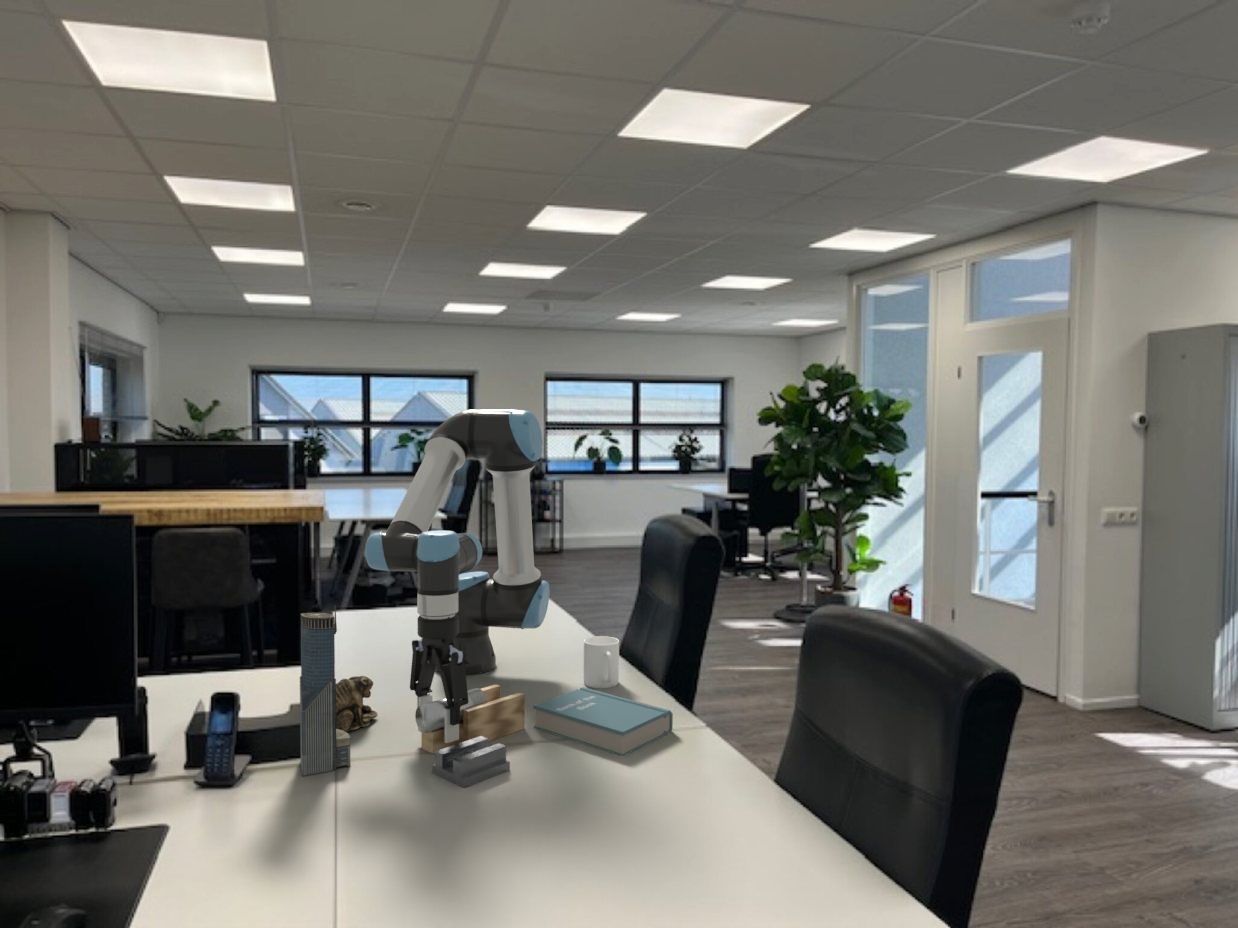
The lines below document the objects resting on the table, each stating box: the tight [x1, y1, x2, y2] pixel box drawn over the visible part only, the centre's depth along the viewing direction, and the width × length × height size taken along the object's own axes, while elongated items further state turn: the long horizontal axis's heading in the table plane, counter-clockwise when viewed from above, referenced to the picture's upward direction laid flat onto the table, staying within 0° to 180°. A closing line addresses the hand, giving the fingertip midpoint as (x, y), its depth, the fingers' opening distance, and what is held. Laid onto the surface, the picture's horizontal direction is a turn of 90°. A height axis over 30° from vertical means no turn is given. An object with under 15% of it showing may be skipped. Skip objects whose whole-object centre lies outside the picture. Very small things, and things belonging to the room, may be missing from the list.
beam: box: [420, 684, 526, 755], centre depth 164 cm, size 20×9×7 cm, turn 138°
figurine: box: [336, 675, 379, 732], centre depth 167 cm, size 6×14×10 cm, turn 137°
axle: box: [414, 687, 487, 733], centre depth 160 cm, size 13×5×5 cm, turn 138°
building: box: [299, 606, 351, 777], centre depth 148 cm, size 10×9×30 cm
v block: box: [431, 736, 511, 788], centre depth 147 cm, size 10×9×4 cm
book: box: [533, 686, 674, 757], centre depth 168 cm, size 23×16×5 cm
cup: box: [582, 635, 620, 689], centre depth 196 cm, size 8×12×10 cm
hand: (438, 734), depth 158 cm, fingers open, 8 cm apart
